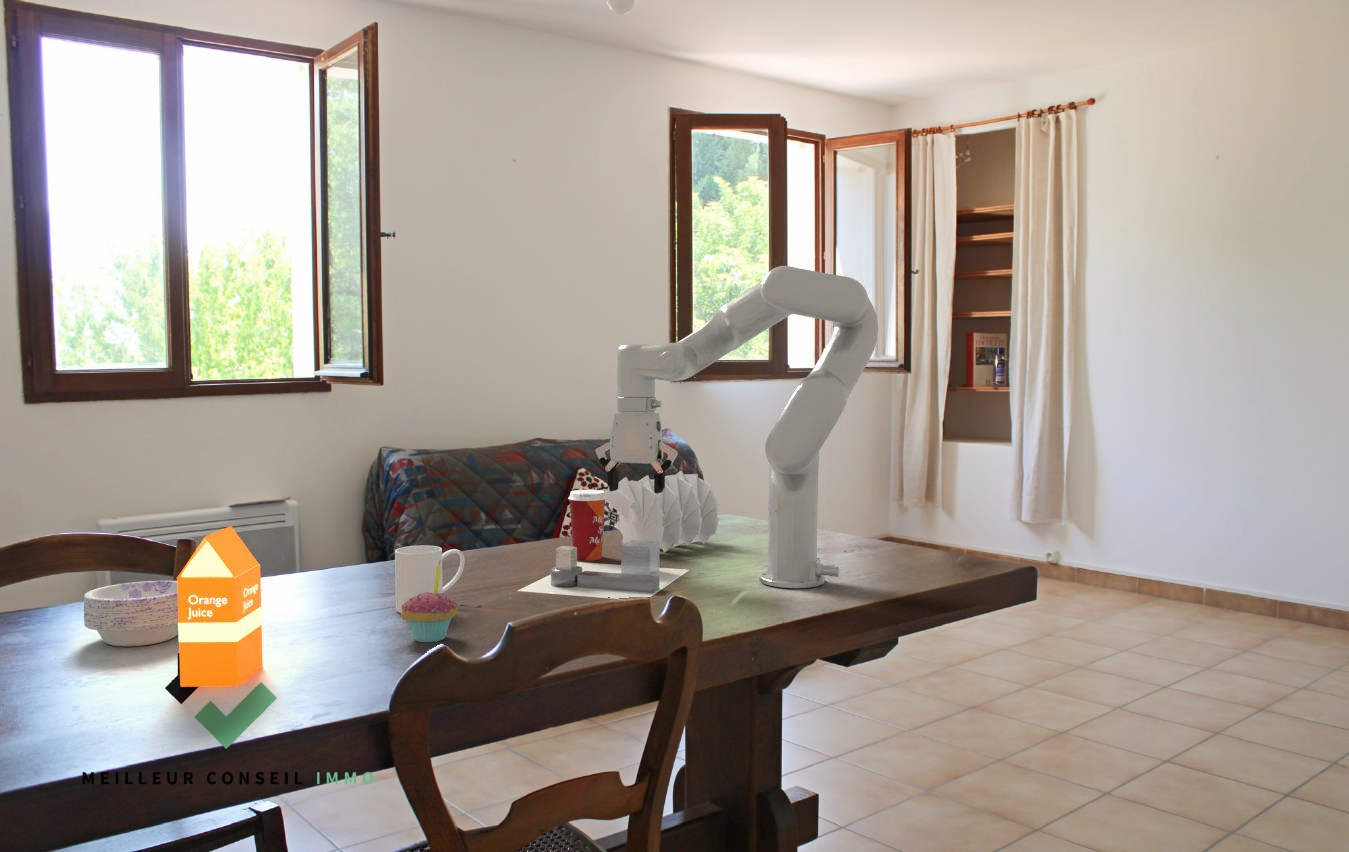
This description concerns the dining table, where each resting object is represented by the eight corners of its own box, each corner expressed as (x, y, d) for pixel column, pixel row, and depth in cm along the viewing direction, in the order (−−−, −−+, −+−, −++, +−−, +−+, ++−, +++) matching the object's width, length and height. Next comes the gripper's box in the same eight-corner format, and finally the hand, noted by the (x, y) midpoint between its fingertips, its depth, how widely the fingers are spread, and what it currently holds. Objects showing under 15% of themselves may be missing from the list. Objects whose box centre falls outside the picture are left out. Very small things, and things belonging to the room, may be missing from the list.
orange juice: (263, 666, 141) (260, 525, 140) (238, 686, 132) (234, 536, 131) (207, 666, 141) (203, 525, 139) (178, 686, 132) (174, 536, 131)
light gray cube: (659, 570, 203) (659, 541, 202) (649, 576, 197) (649, 546, 197) (631, 569, 204) (631, 539, 204) (621, 574, 199) (621, 545, 198)
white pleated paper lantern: (713, 561, 236) (639, 572, 217) (664, 521, 246) (590, 529, 228) (742, 494, 230) (669, 500, 211) (691, 457, 241) (617, 459, 222)
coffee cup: (604, 564, 212) (604, 494, 211) (566, 564, 212) (565, 494, 211) (608, 556, 220) (608, 489, 219) (571, 556, 220) (570, 488, 219)
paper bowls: (180, 621, 165) (179, 573, 164) (209, 640, 154) (208, 589, 153) (74, 637, 155) (73, 587, 154) (97, 659, 144) (95, 605, 143)
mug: (404, 617, 168) (403, 555, 167) (389, 607, 174) (388, 548, 173) (473, 607, 174) (472, 548, 174) (455, 598, 181) (455, 541, 180)
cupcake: (435, 628, 161) (434, 554, 160) (469, 637, 156) (468, 561, 155) (390, 639, 154) (388, 562, 154) (423, 649, 149) (422, 570, 148)
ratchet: (545, 586, 188) (545, 549, 188) (558, 579, 194) (558, 544, 194) (651, 594, 182) (651, 556, 182) (661, 587, 188) (661, 550, 187)
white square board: (689, 572, 204) (689, 569, 204) (644, 604, 177) (644, 601, 177) (576, 564, 211) (576, 561, 211) (516, 594, 185) (516, 590, 185)
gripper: (683, 406, 200) (683, 491, 201) (603, 404, 206) (604, 487, 207) (670, 407, 193) (670, 496, 194) (588, 406, 199) (588, 491, 200)
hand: (636, 491), depth 200 cm, fingers open, 9 cm apart
